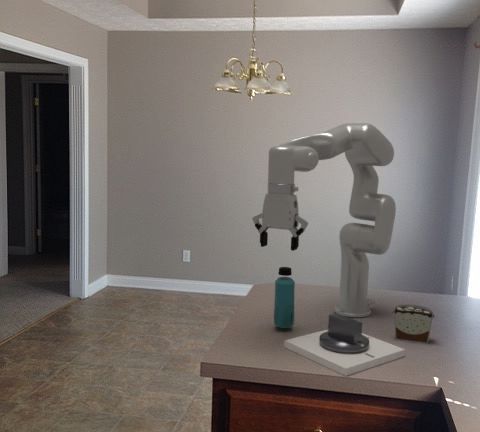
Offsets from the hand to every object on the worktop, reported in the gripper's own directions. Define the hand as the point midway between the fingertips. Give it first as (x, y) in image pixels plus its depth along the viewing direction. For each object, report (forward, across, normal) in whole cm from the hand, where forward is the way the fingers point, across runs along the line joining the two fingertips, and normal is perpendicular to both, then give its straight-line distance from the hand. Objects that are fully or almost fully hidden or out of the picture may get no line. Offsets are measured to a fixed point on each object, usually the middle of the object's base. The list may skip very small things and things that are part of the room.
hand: (278, 248), depth 165 cm
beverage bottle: (+29, +2, -11) cm, 31 cm away
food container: (+29, -35, -25) cm, 51 cm away
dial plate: (+28, -20, -3) cm, 35 cm away
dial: (+26, -20, -3) cm, 33 cm away
